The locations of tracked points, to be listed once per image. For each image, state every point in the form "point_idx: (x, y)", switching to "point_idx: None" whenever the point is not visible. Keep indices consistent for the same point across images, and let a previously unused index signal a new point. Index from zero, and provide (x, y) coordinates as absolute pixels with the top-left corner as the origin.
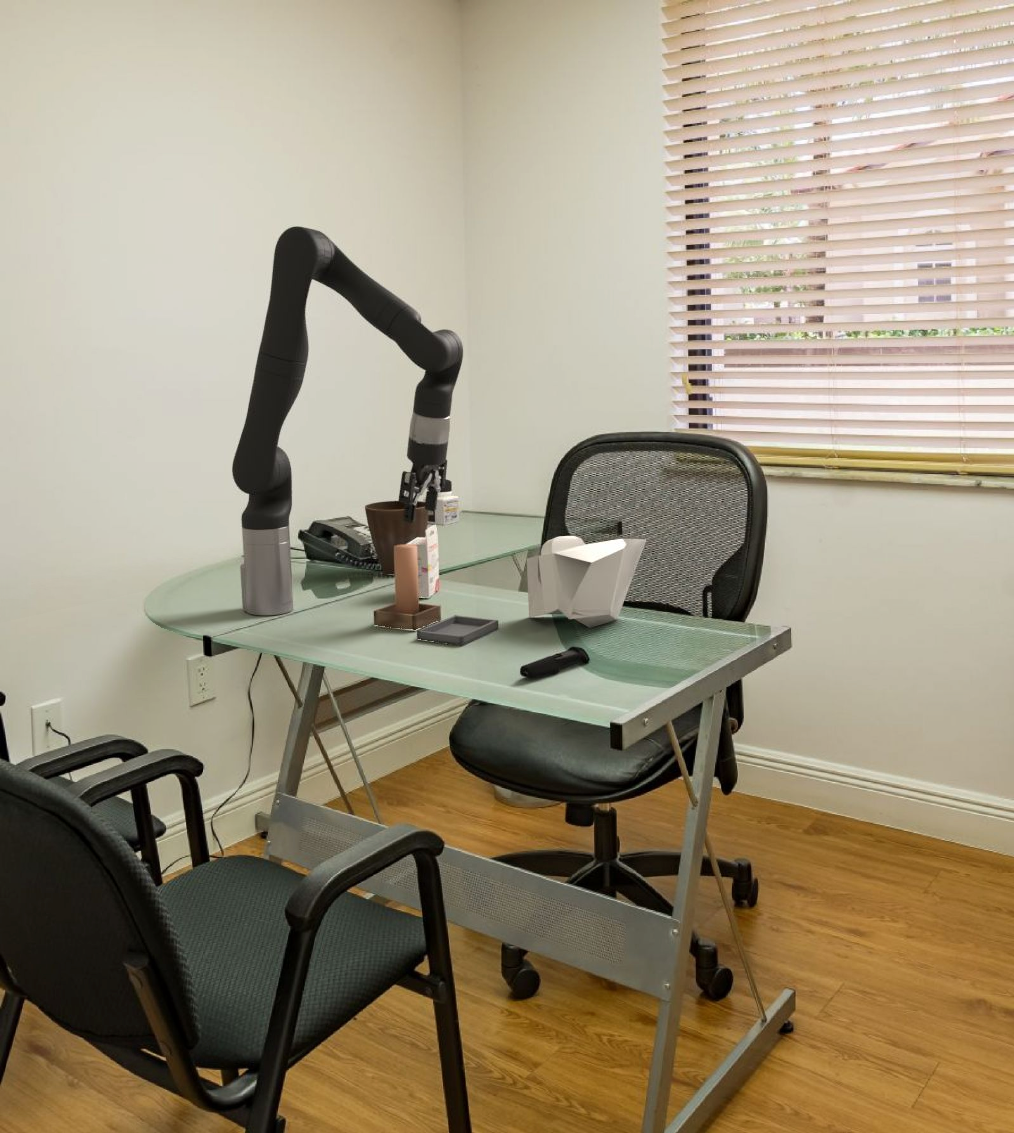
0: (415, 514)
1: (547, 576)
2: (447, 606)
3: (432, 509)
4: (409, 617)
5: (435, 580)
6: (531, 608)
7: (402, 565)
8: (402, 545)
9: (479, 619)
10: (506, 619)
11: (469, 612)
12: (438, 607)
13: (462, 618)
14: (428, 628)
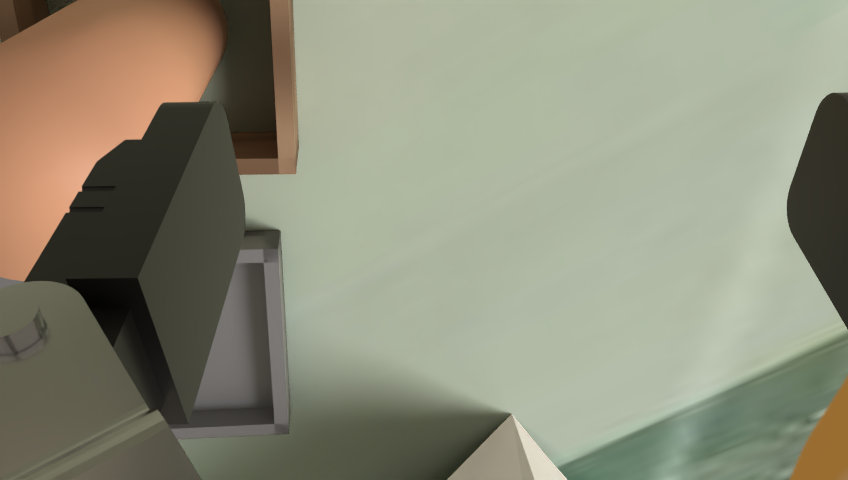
0: (218, 301)
1: None
2: (587, 13)
3: (802, 205)
4: None
5: None
6: (514, 450)
7: None
8: (39, 128)
9: (271, 365)
10: (449, 362)
11: (506, 176)
12: (273, 172)
13: (265, 289)
14: None
